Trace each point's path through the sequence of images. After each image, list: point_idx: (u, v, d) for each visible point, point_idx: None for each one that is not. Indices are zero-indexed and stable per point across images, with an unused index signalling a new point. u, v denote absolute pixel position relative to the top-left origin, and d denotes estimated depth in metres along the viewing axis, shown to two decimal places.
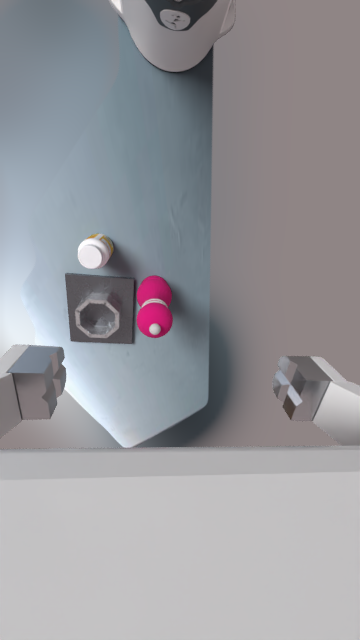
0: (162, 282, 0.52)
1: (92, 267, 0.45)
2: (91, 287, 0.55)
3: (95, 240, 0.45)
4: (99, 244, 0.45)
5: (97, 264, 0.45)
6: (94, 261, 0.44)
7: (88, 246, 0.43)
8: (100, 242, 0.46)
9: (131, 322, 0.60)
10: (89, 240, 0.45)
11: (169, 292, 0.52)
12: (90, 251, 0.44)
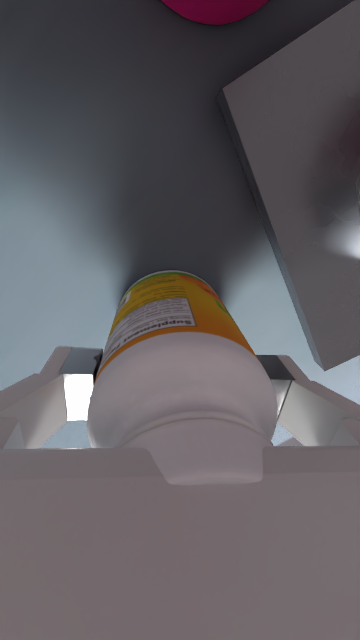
0: None
1: None
2: (347, 272, 0.12)
3: None
4: (99, 447, 0.07)
5: None
6: None
7: None
8: (89, 434, 0.07)
9: None
10: None
11: None
12: None
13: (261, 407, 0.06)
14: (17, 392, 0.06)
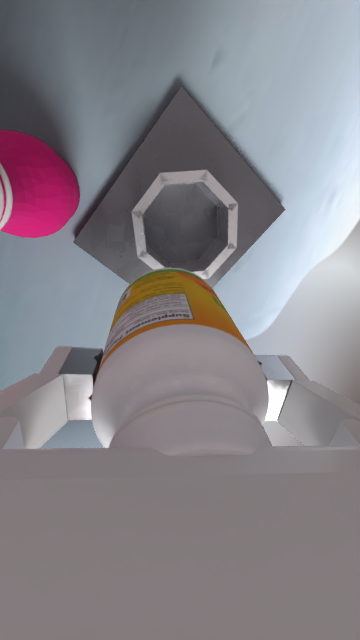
0: None
1: None
2: None
3: (102, 442, 0.08)
4: (103, 430, 0.07)
5: None
6: None
7: None
8: (93, 419, 0.07)
9: (140, 150, 0.22)
10: None
11: None
12: None
13: (253, 394, 0.07)
14: (17, 392, 0.06)
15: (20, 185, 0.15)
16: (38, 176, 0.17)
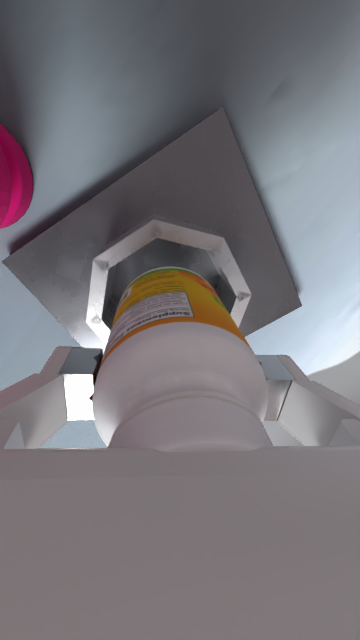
0: None
1: None
2: None
3: (103, 438, 0.08)
4: (104, 427, 0.07)
5: None
6: None
7: None
8: (94, 415, 0.07)
9: (138, 171, 0.15)
10: None
11: None
12: None
13: (252, 391, 0.07)
14: (17, 392, 0.06)
15: None
16: None
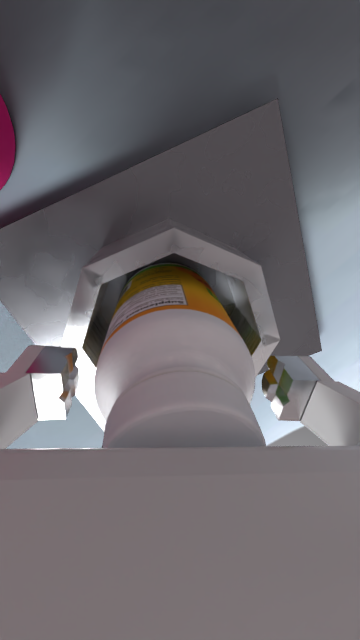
0: None
1: (246, 430, 0.06)
2: None
3: (103, 416, 0.08)
4: (104, 404, 0.08)
5: (205, 419, 0.05)
6: (195, 441, 0.06)
7: None
8: (95, 394, 0.08)
9: (157, 161, 0.12)
10: None
11: None
12: None
13: (239, 371, 0.08)
14: None
15: None
16: None
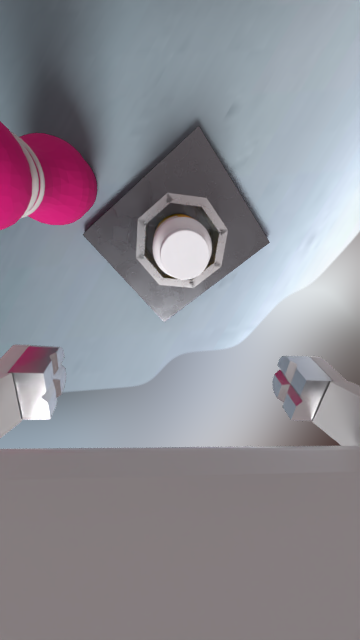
0: None
1: (197, 236, 0.20)
2: (152, 280, 0.31)
3: (159, 265, 0.23)
4: (158, 256, 0.23)
5: (184, 234, 0.20)
6: (184, 243, 0.20)
7: (170, 273, 0.21)
8: (154, 256, 0.23)
9: (155, 169, 0.26)
10: (167, 273, 0.24)
11: None
12: (175, 263, 0.21)
13: (200, 232, 0.22)
14: None
15: (50, 182, 0.19)
16: (65, 177, 0.20)
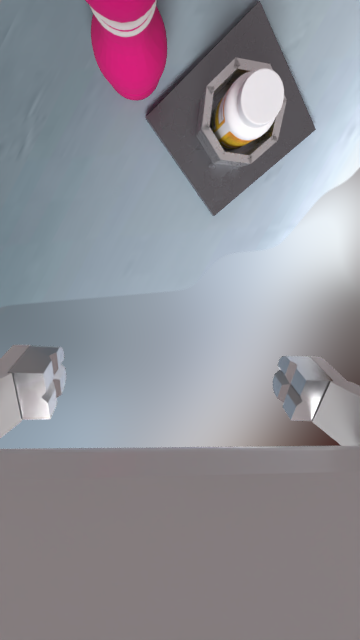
0: (94, 54, 0.25)
1: (275, 76, 0.22)
2: (206, 169, 0.33)
3: (230, 122, 0.26)
4: (231, 110, 0.25)
5: (264, 72, 0.22)
6: (263, 83, 0.23)
7: (248, 116, 0.23)
8: (227, 113, 0.25)
9: (217, 47, 0.28)
10: (237, 130, 0.26)
11: (93, 15, 0.23)
12: (253, 105, 0.23)
13: None
14: None
15: None
16: (155, 22, 0.22)
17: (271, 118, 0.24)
